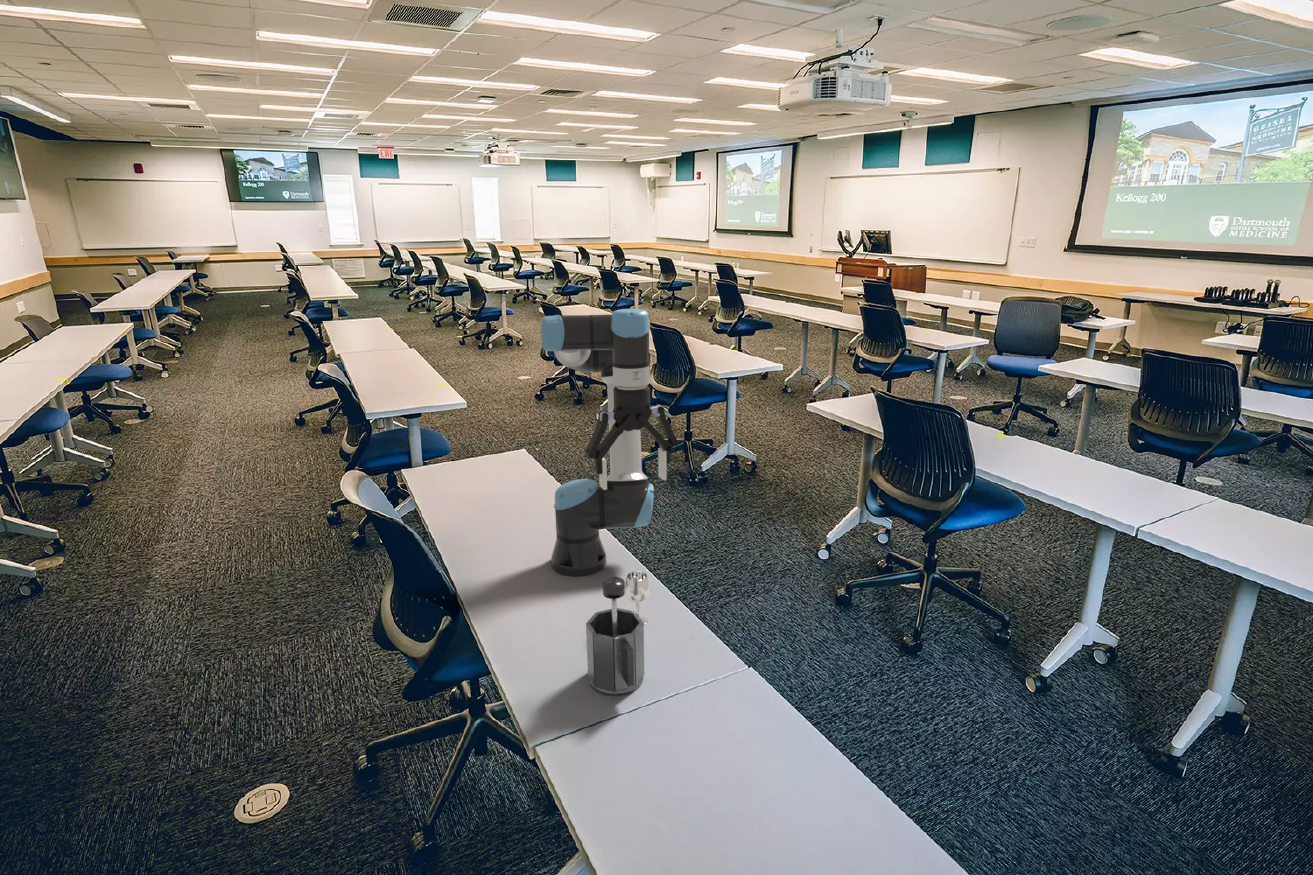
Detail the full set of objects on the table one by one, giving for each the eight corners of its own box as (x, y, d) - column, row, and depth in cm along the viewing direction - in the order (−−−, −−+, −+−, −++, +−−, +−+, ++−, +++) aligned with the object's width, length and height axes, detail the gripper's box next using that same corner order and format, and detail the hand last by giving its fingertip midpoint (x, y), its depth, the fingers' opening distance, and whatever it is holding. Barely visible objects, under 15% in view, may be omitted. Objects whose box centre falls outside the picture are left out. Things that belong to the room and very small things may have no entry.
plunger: (594, 666, 143) (590, 577, 137) (626, 657, 146) (624, 570, 140) (605, 686, 137) (602, 594, 131) (638, 677, 140) (637, 586, 134)
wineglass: (638, 612, 166) (637, 567, 163) (655, 621, 162) (654, 575, 159) (620, 621, 162) (619, 576, 159) (637, 631, 159) (636, 584, 155)
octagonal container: (582, 669, 145) (579, 615, 141) (631, 656, 149) (630, 603, 145) (604, 711, 132) (602, 652, 129) (657, 695, 137) (657, 639, 133)
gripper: (578, 396, 133) (582, 497, 139) (694, 383, 143) (693, 479, 149) (567, 388, 140) (572, 485, 146) (678, 377, 149) (678, 469, 155)
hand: (633, 482), depth 147 cm, fingers open, 13 cm apart
